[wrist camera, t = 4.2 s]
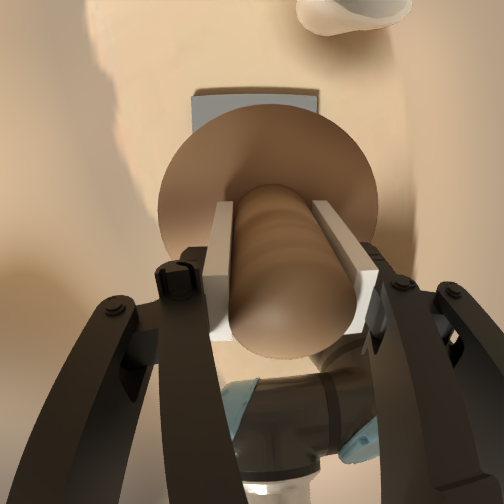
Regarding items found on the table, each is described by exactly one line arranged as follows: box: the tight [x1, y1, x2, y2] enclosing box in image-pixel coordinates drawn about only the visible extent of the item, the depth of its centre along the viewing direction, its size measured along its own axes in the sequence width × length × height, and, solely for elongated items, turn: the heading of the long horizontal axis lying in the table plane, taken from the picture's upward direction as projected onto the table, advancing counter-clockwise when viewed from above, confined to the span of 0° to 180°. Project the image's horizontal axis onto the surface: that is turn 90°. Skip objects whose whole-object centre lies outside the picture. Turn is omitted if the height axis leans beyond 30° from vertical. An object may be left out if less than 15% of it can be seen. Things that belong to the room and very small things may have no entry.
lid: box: [158, 104, 378, 359], centre depth 13 cm, size 12×12×9 cm
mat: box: [191, 94, 317, 133], centre depth 33 cm, size 14×14×1 cm
